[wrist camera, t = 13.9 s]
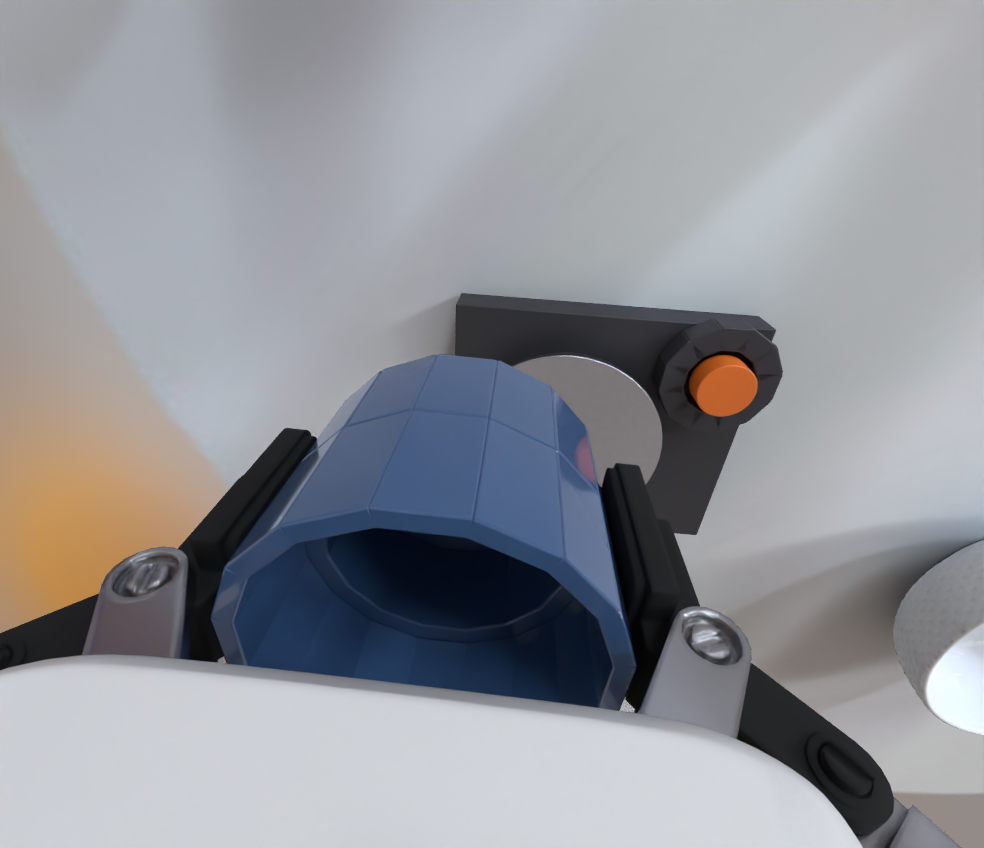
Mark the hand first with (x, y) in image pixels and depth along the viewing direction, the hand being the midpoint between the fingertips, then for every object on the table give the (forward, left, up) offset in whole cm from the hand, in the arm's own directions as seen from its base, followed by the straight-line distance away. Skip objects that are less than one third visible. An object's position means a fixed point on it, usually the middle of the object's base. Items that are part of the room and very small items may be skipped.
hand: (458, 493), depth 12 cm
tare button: (-11, +2, -13) cm, 17 cm away
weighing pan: (-4, +6, -12) cm, 14 cm away
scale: (-6, +6, -16) cm, 18 cm away
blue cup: (0, 0, -1) cm, 1 cm away
